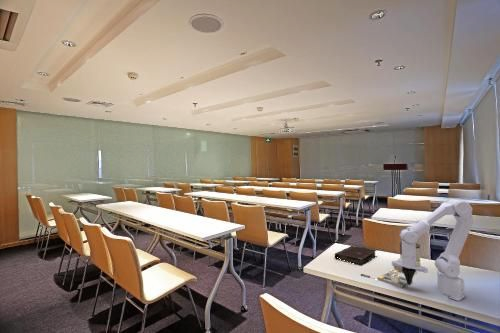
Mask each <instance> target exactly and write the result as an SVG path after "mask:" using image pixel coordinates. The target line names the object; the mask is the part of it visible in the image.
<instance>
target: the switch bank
mask: <svg viewBox="0 0 500 333" xmlns="http://www.w3.org/2000/svg"><path fill="white" fill-rule="evenodd" d="M399 276H400V280H401V284H397V283H394V282H391V277H390V276H389V272H387V273H384V274H383V275H380V276H378V277H377V279H378V280H377V281H380V282H383V283H386V284H388V285H391V286H393V287H397V288H400V289H403V288H405V287H407V286H409V285H408V284H407V281H406V278H405V276H404V277H403V276H401V275H399ZM412 284H413V279H412Z"/></svg>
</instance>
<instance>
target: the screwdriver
mask: <svg viewBox="0 0 500 333" xmlns="http://www.w3.org/2000/svg"><path fill="white" fill-rule="evenodd" d="M360 276H361V277H365V278H367V279H374V280H377V281H379V280H378V278H373V277H371V276H370V275H367V274H364V273H360Z"/></svg>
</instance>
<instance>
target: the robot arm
mask: <svg viewBox="0 0 500 333" xmlns="http://www.w3.org/2000/svg"><path fill="white" fill-rule="evenodd" d="M445 216H453V217H454V218H455V220H456V222H455V225H454V227H453V230H452V233H451V235H450V237H449V240H448V242H447V245H446V247H445V250H444V251H443V252H441V253H440V254H439V255H438V257H437V258H436V259H435V260H434V265H435V267H436V269H437V273H436V274H437V291H438V292H439V293H441V294H443V295H447V296H448V297H447V298H449V299H452V300H454V301H459V302H460V301H461V300H462V299H463V298H465V297H466V295H465V280H464V279H463V278H461V277H459V275H460V274H461V271H460V270H461V269H460V266H461V261H460V255H461V254H462V251H463V248H464V246H465V243H466V241H467V239H468V237H469V234H470V231H471V228H472V226H473V224H474V218H473V207H472V206H471V205H470V203H469V202H468V201H465V200H459V199H456V198H449V199H447V200H445V201H444V202H442V203H440V206H438V207H437V208H436V209H434V211H432V212H431V213H430V214H429V215H428V216H427V217H425V218H424V219H423V218H419V219H416V220H415V221H414V223H412V224H411V225H410V226H407V227H406V228H404V229H402V230H401V231H400V234H399V237H400V239H401V242H402V262H398V261H397V260H392V261H391V266H392V267H394V266H398V267H402V272H403V273H402V274H403V275H404V278H406V281H407V284H408V285H407V286H412V284H413V283H412V280H413V278H414V276H415V275H416V273H415V272H422V273H425V274H427V273H428V267H426V266H422V265H420V266H419V265H416V244H415V243H417V242H418V240H419V237H421V236H422V235H424V234H425V233H427V232H428V231H430V230H431V225H433V224H434V223H436V222H438V221H439V220H440V219H442V218H443V217H445ZM416 270H417V271H416ZM414 274H415V275H414Z"/></svg>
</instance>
